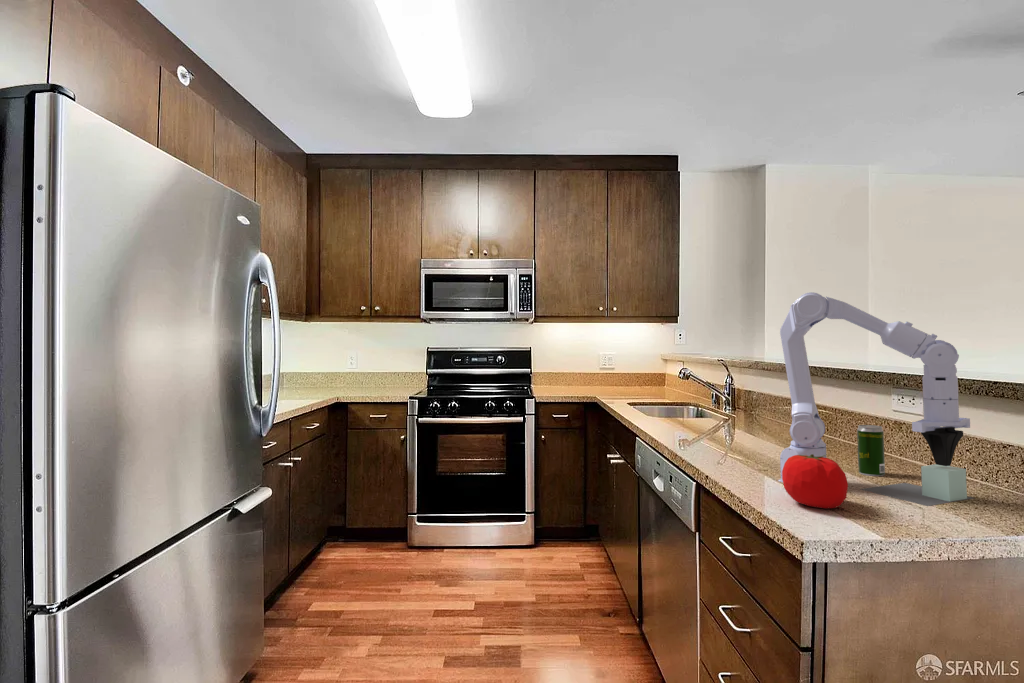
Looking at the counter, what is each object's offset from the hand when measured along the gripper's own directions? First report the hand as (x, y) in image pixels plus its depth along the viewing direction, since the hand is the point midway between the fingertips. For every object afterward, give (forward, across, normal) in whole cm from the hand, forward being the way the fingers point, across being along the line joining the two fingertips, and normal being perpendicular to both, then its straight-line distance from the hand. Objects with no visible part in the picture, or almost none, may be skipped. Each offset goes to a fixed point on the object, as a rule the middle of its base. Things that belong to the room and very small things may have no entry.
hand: (943, 464), depth 110 cm
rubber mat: (+7, -2, +4) cm, 8 cm away
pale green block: (+6, 0, 0) cm, 6 cm away
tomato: (+7, -27, +7) cm, 29 cm away
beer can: (+7, +6, +20) cm, 22 cm away
